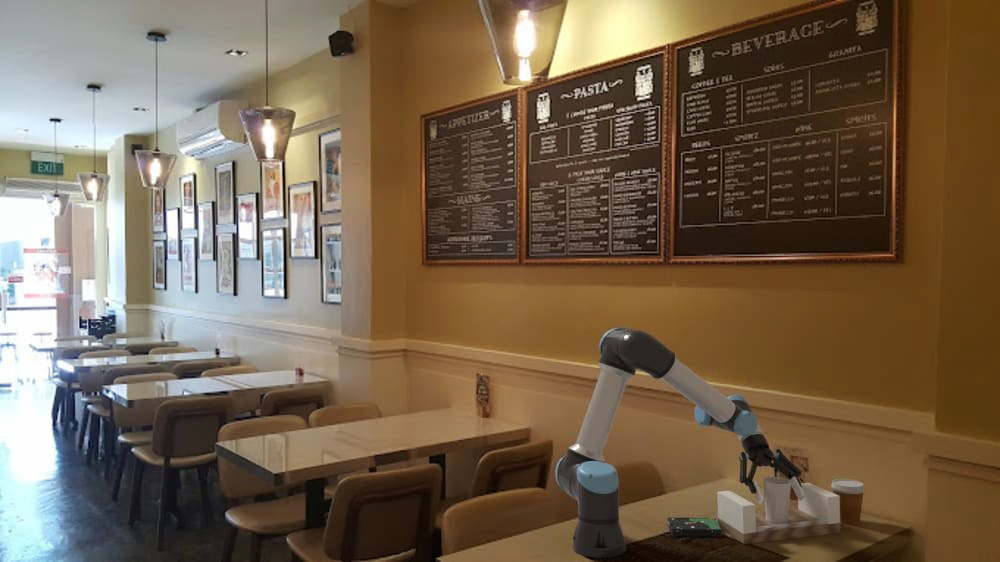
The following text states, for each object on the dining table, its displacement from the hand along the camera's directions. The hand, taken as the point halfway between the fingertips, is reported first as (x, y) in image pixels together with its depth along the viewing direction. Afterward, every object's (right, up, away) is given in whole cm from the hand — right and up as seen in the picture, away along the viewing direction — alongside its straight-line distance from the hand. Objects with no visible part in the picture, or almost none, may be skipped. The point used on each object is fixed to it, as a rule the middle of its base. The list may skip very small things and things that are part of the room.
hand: (782, 500), depth 209 cm
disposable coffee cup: (+24, -9, +8) cm, 27 cm away
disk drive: (-25, -11, +4) cm, 28 cm away
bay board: (0, -10, +2) cm, 10 cm away
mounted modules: (0, -7, +2) cm, 7 cm away
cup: (-1, -7, +2) cm, 7 cm away
